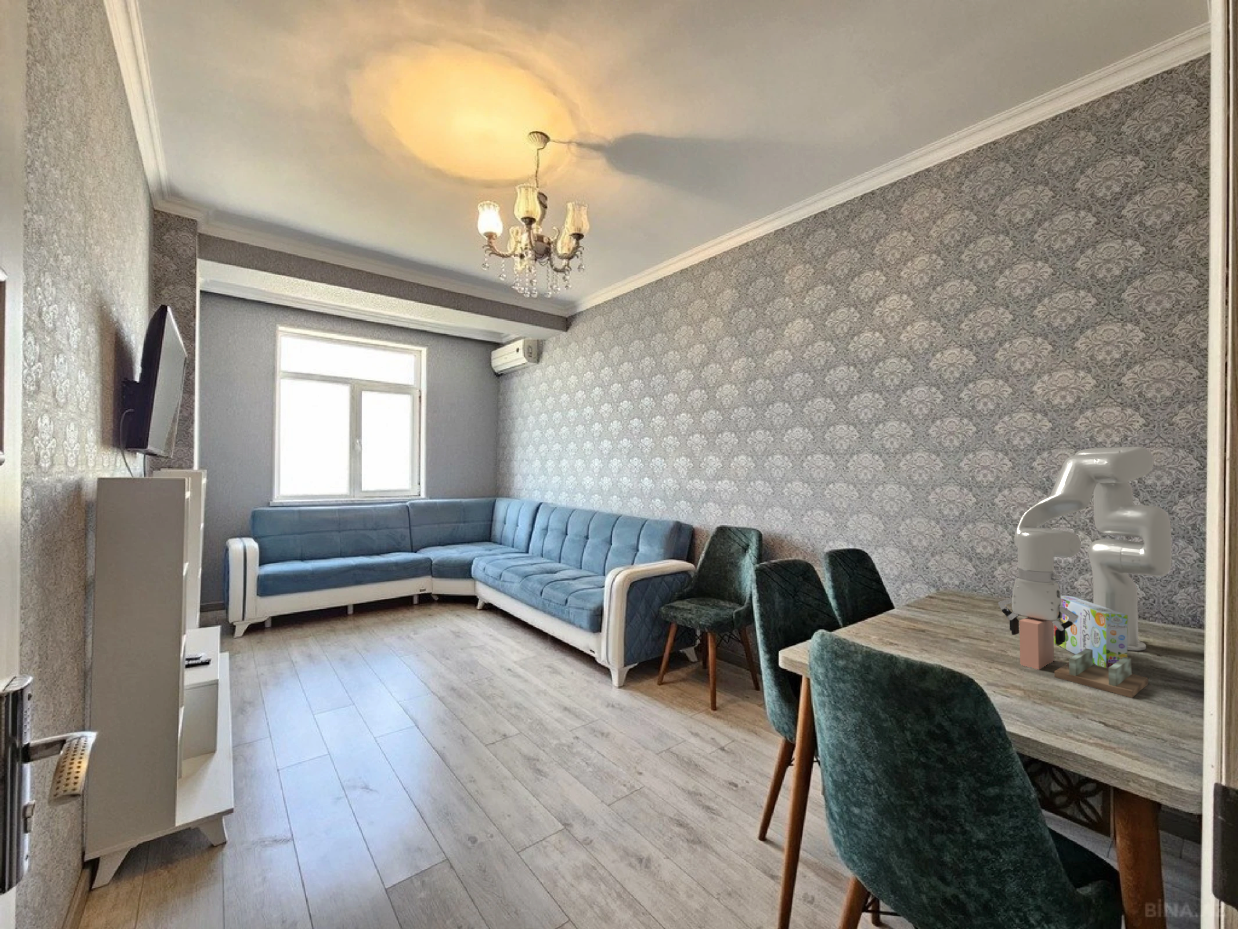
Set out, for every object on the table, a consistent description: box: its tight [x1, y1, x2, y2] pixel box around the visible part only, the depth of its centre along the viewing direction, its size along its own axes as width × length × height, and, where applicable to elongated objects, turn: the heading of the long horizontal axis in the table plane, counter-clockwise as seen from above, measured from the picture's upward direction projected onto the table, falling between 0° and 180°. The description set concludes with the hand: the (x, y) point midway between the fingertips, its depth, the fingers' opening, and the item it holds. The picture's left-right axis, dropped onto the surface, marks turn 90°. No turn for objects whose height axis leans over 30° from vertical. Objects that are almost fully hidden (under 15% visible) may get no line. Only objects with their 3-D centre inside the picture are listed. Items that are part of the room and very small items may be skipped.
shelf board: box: [1053, 648, 1149, 699], centre depth 124 cm, size 14×14×6 cm
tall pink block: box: [1019, 617, 1055, 671], centre depth 136 cm, size 11×4×12 cm, turn 123°
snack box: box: [1053, 595, 1128, 668], centre depth 140 cm, size 21×6×15 cm, turn 168°
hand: (1036, 639), depth 136 cm, fingers open, 9 cm apart
